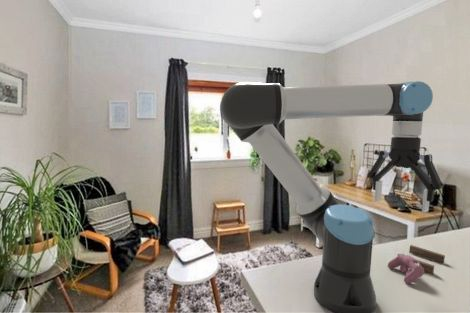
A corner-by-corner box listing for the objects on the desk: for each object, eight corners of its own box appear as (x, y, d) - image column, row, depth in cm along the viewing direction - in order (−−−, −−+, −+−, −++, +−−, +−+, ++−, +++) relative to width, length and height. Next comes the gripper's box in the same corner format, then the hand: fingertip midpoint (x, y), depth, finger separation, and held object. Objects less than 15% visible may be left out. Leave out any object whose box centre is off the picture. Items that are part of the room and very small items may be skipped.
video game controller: (417, 289, 81) (430, 269, 80) (404, 283, 80) (417, 262, 80) (397, 271, 91) (408, 253, 90) (385, 265, 90) (396, 246, 90)
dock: (432, 274, 86) (433, 266, 86) (397, 261, 94) (397, 254, 93) (444, 262, 94) (444, 255, 93) (410, 251, 101) (411, 244, 101)
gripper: (462, 138, 76) (453, 214, 78) (371, 134, 96) (366, 195, 98) (452, 139, 71) (443, 219, 74) (359, 134, 91) (355, 198, 94)
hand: (399, 205), depth 86 cm, fingers open, 13 cm apart
